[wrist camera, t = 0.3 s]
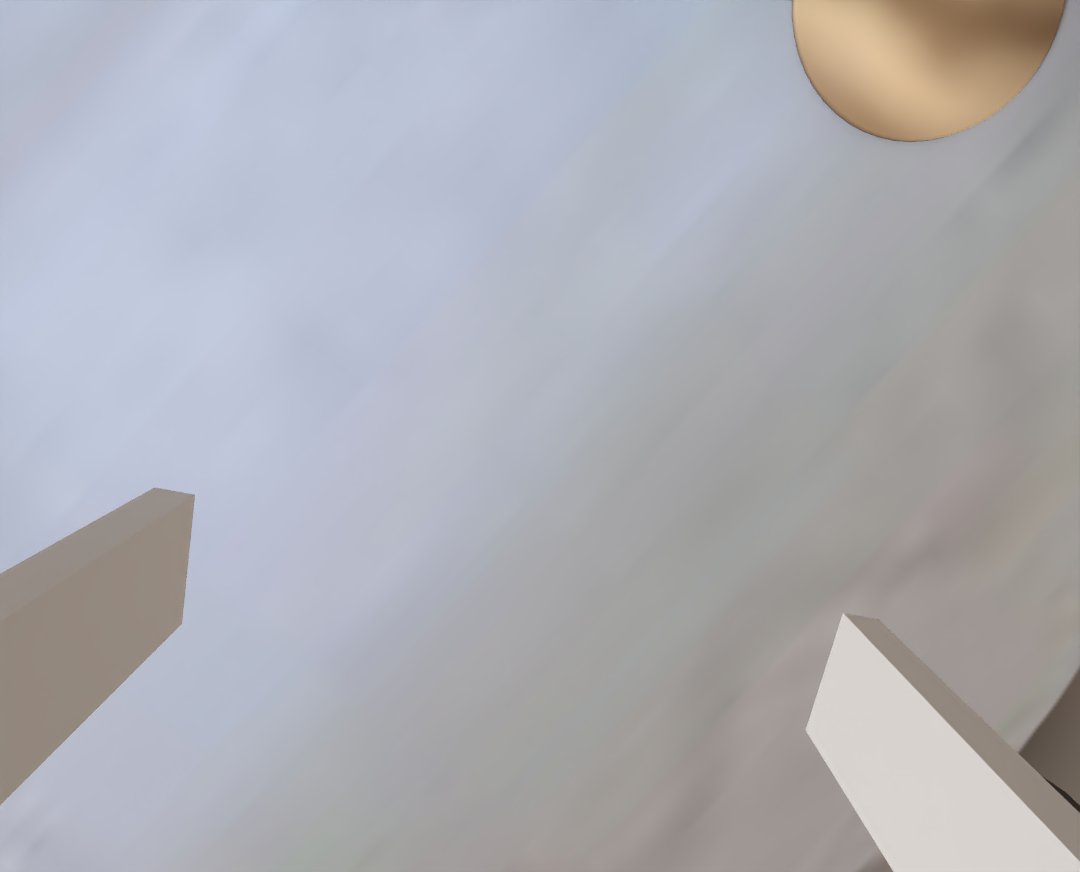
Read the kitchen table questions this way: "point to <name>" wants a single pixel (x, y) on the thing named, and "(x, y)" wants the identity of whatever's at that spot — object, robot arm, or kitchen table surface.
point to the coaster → (921, 59)
